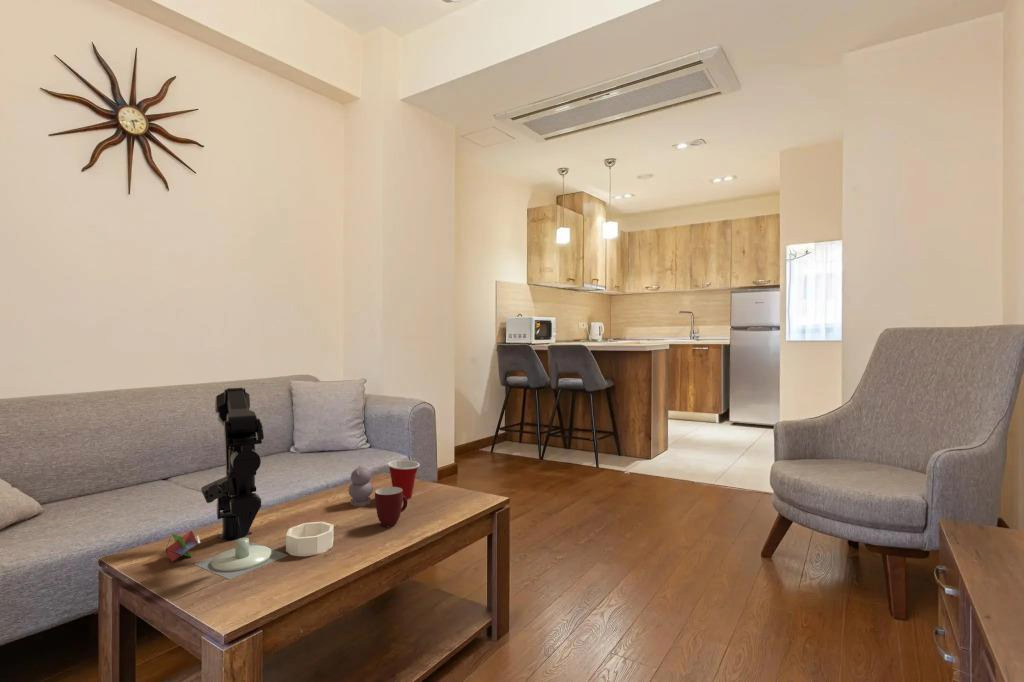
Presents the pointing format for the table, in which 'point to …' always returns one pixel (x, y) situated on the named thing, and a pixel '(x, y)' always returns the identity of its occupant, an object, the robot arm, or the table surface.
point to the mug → (389, 505)
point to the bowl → (309, 539)
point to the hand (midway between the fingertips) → (242, 529)
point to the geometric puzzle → (182, 546)
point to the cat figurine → (360, 486)
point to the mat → (231, 574)
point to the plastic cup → (403, 475)
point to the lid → (241, 556)
